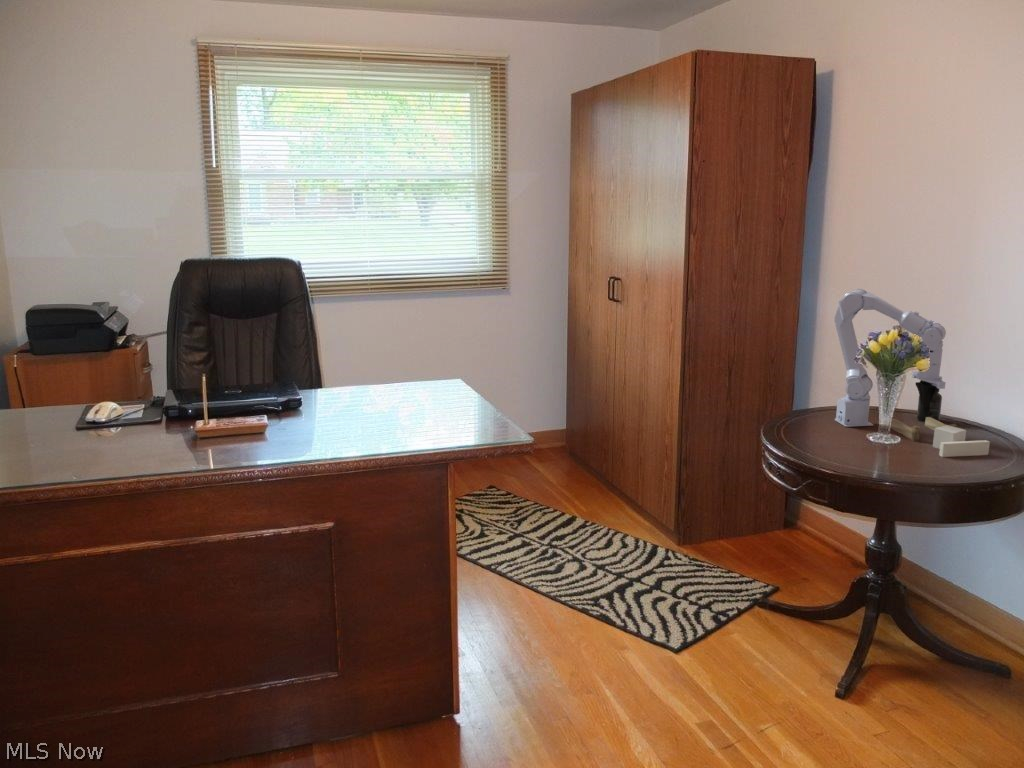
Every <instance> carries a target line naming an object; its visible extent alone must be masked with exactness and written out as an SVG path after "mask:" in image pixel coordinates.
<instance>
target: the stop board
mask: <svg viewBox="0 0 1024 768" xmlns="http://www.w3.org/2000/svg"><path fill="white" fill-rule="evenodd" d="M990 445H991V441H990V440H986V439H984V440H965V441H957V442H941V443H940V449H939V451H938V456H940V457H941V458H948V457H951V458H952V457H968V456H969V457H970V456H988V455H989V452H990Z"/></svg>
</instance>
